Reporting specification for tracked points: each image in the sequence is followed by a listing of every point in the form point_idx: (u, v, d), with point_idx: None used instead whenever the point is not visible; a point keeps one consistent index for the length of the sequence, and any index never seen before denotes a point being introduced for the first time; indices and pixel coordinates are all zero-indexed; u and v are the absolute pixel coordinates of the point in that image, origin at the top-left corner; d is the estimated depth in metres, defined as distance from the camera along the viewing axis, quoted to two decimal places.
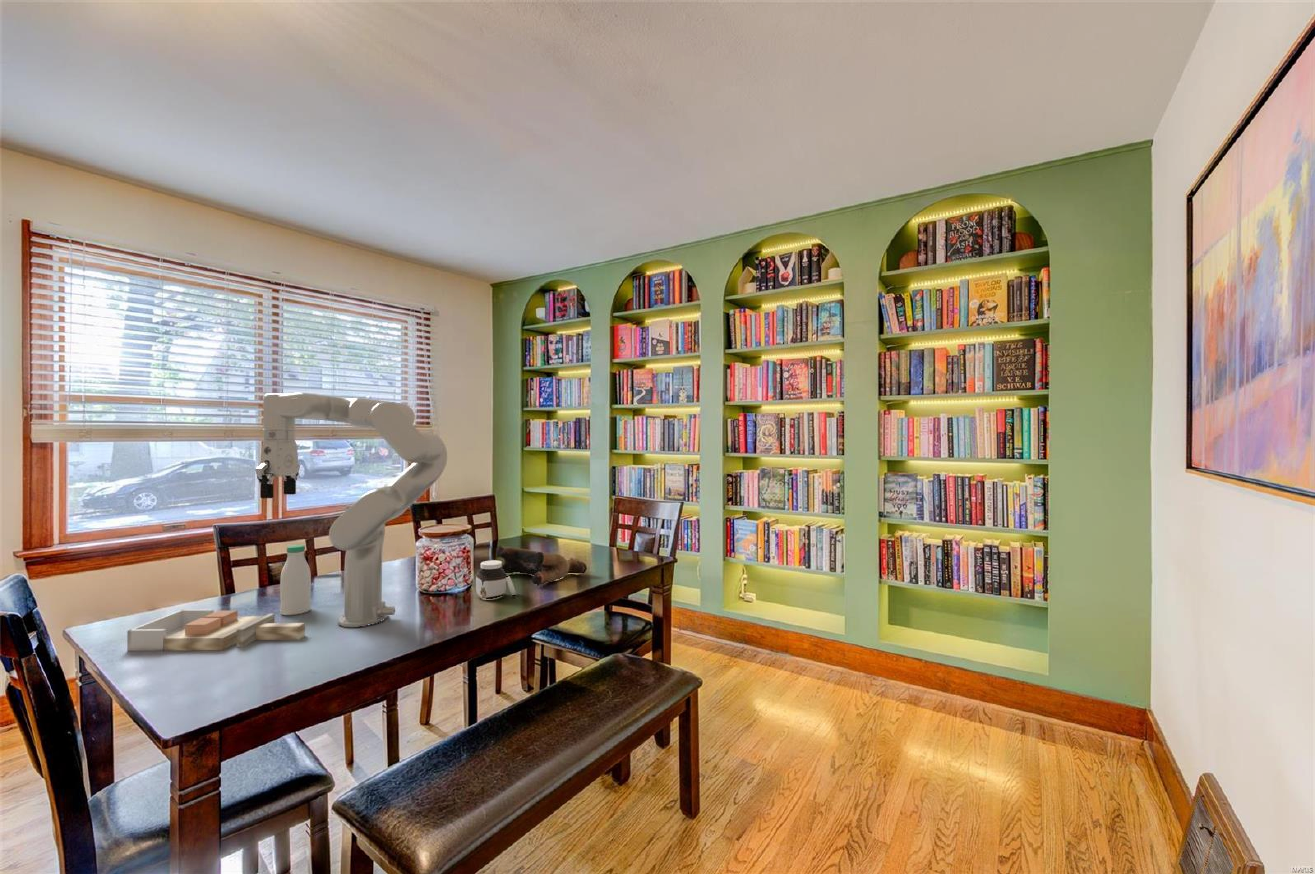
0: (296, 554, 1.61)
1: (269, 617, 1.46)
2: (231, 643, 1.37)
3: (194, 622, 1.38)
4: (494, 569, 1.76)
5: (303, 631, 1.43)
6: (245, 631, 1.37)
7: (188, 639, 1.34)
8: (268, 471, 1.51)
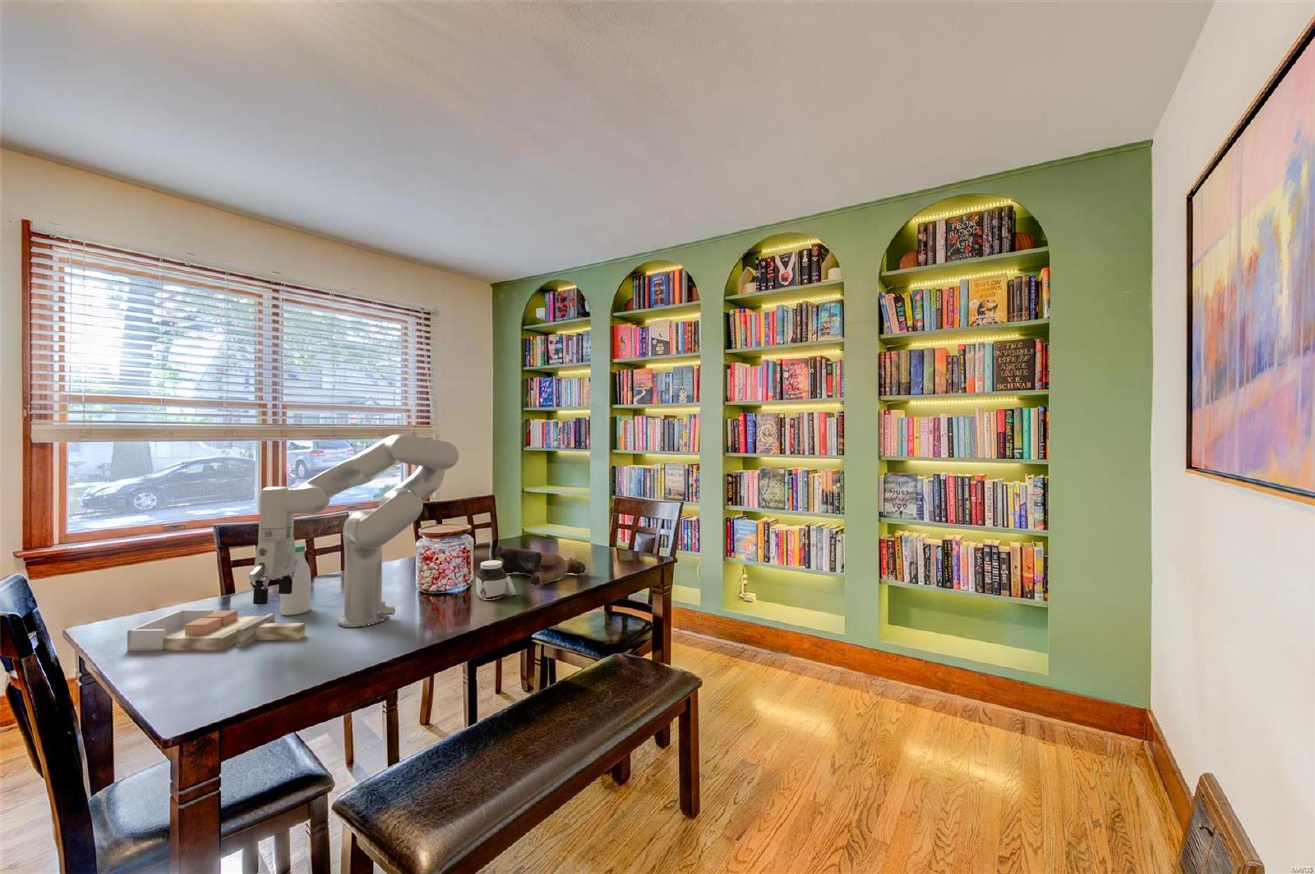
0: (296, 554, 1.61)
1: (269, 617, 1.46)
2: (231, 643, 1.37)
3: (194, 622, 1.38)
4: (494, 569, 1.76)
5: (303, 631, 1.43)
6: (245, 631, 1.37)
7: (188, 639, 1.34)
8: (263, 573, 1.39)
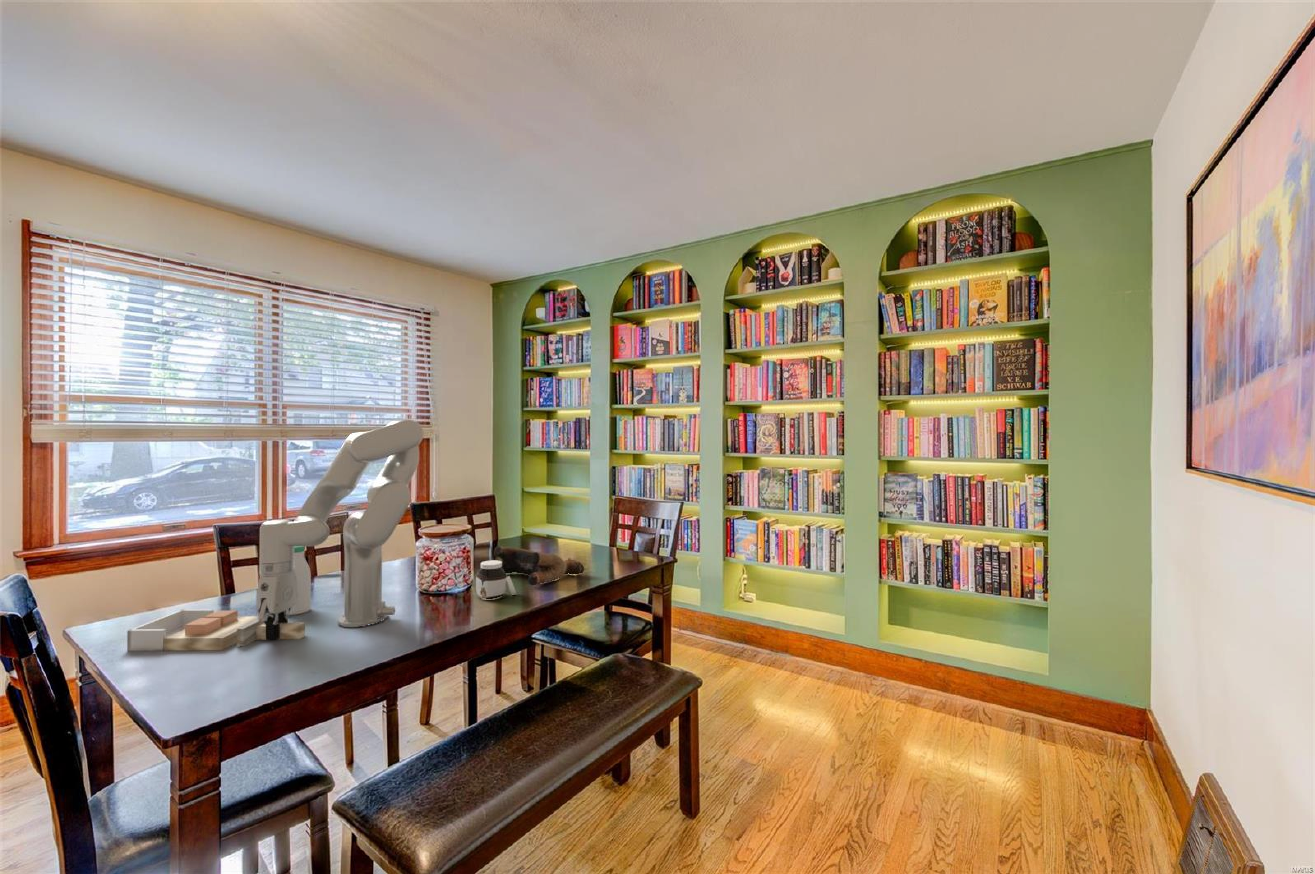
0: (296, 554, 1.61)
1: None
2: (231, 643, 1.37)
3: (194, 622, 1.38)
4: (494, 569, 1.76)
5: (303, 631, 1.43)
6: (245, 631, 1.37)
7: (188, 639, 1.34)
8: None
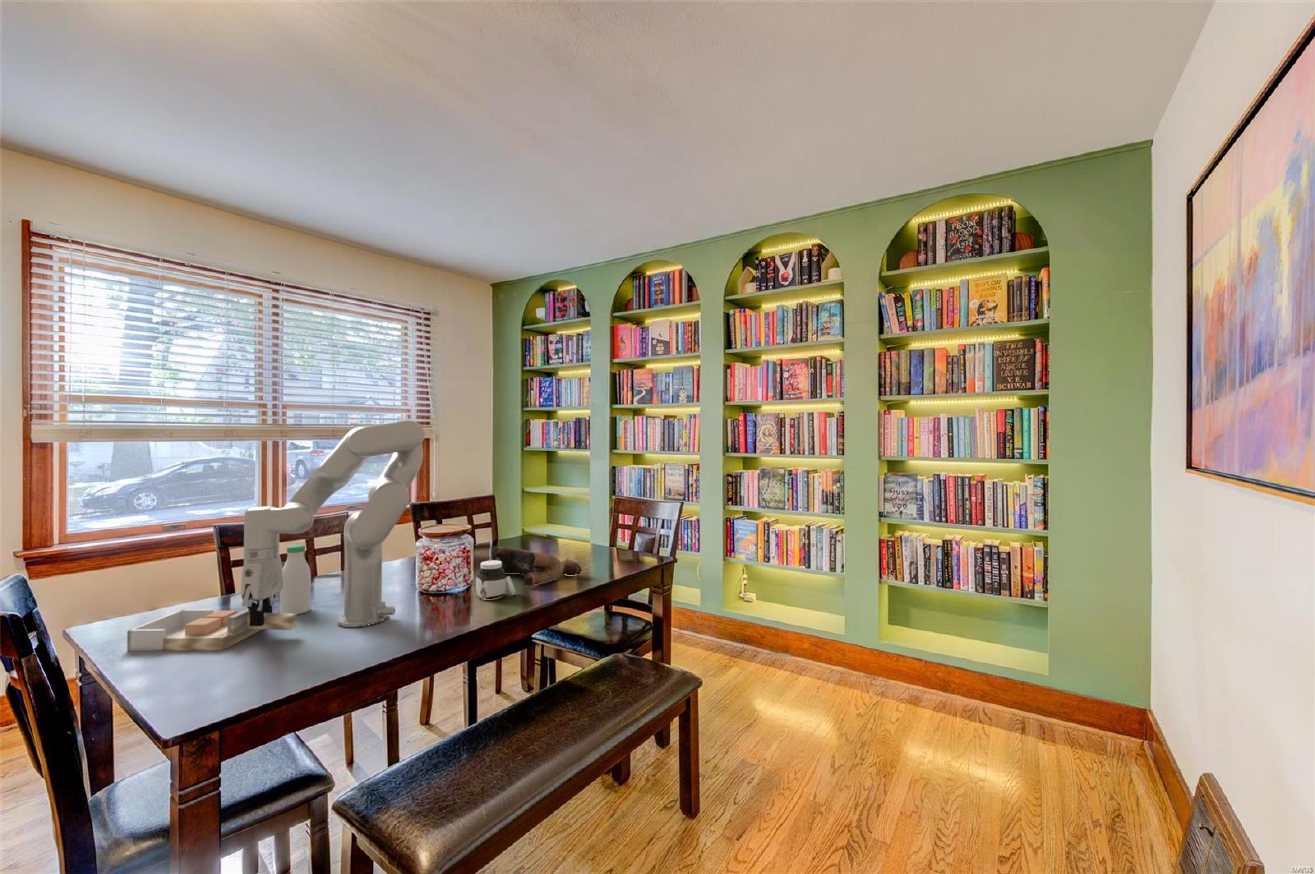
0: (296, 554, 1.61)
1: None
2: (231, 643, 1.37)
3: (194, 622, 1.38)
4: (494, 569, 1.76)
5: (294, 622, 1.43)
6: (236, 620, 1.37)
7: (188, 639, 1.34)
8: None
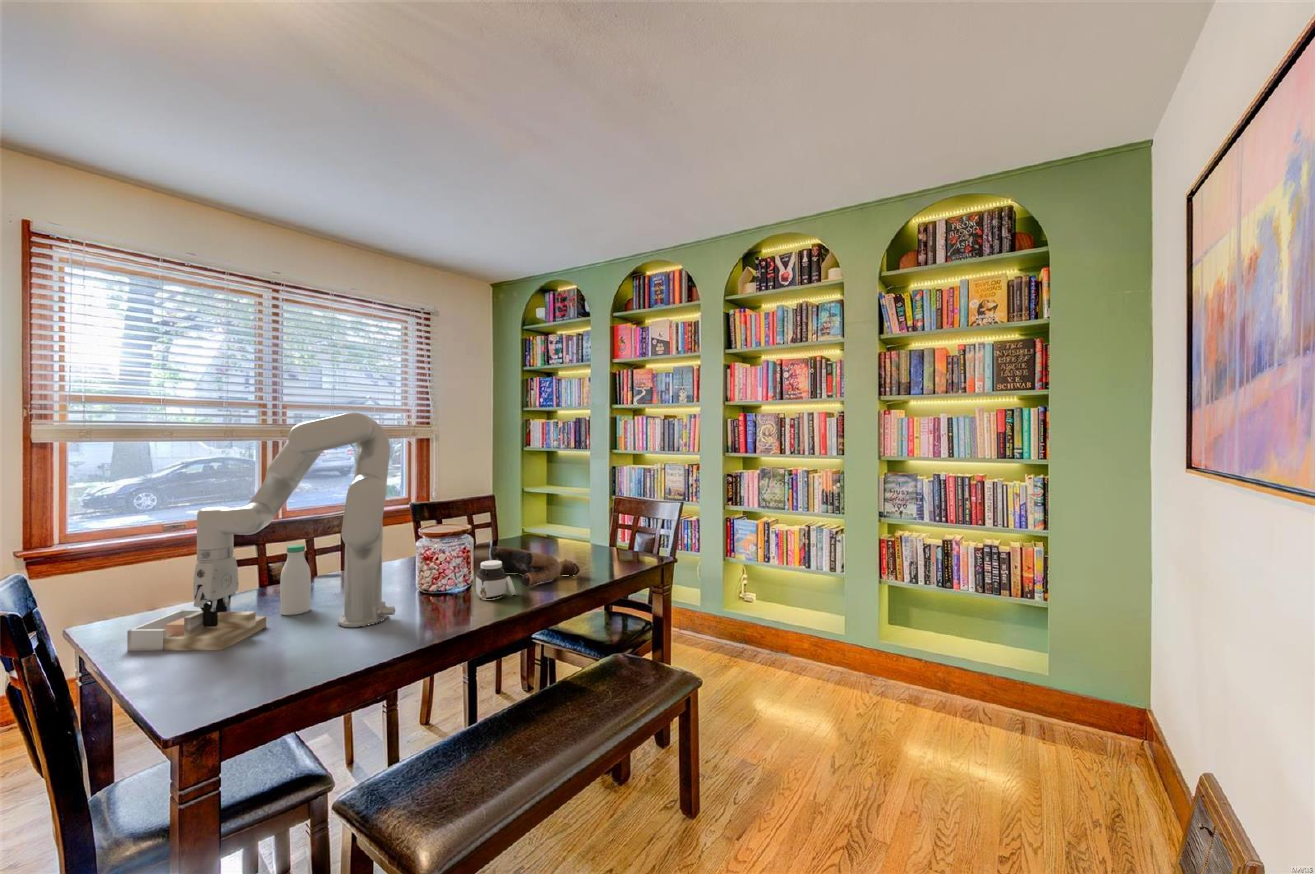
0: (296, 554, 1.61)
1: None
2: (231, 643, 1.37)
3: (175, 622, 1.38)
4: (494, 569, 1.76)
5: (253, 620, 1.43)
6: (193, 619, 1.36)
7: (188, 639, 1.34)
8: None
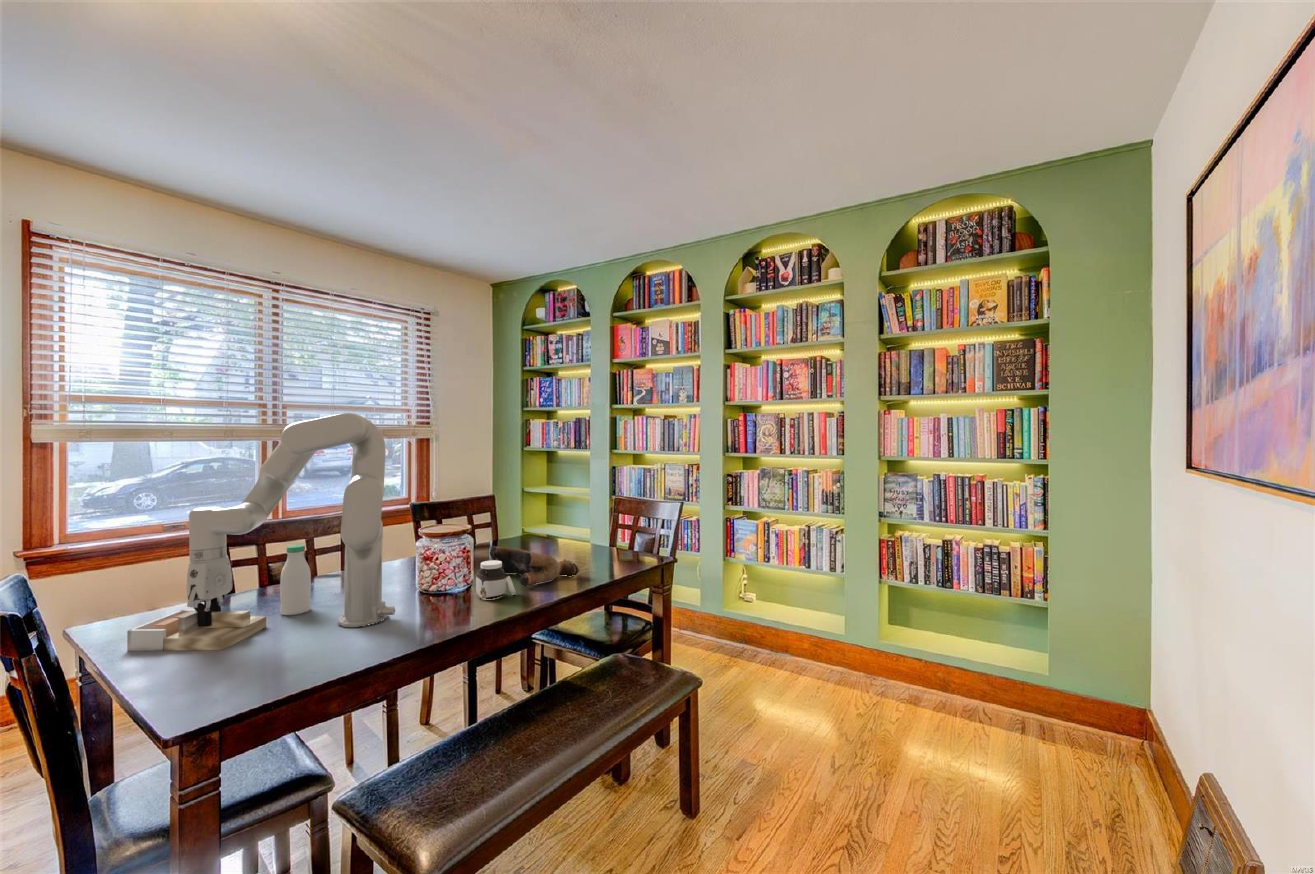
0: (296, 554, 1.61)
1: None
2: (231, 643, 1.37)
3: None
4: (494, 569, 1.76)
5: (248, 619, 1.43)
6: (187, 619, 1.36)
7: (188, 639, 1.34)
8: None
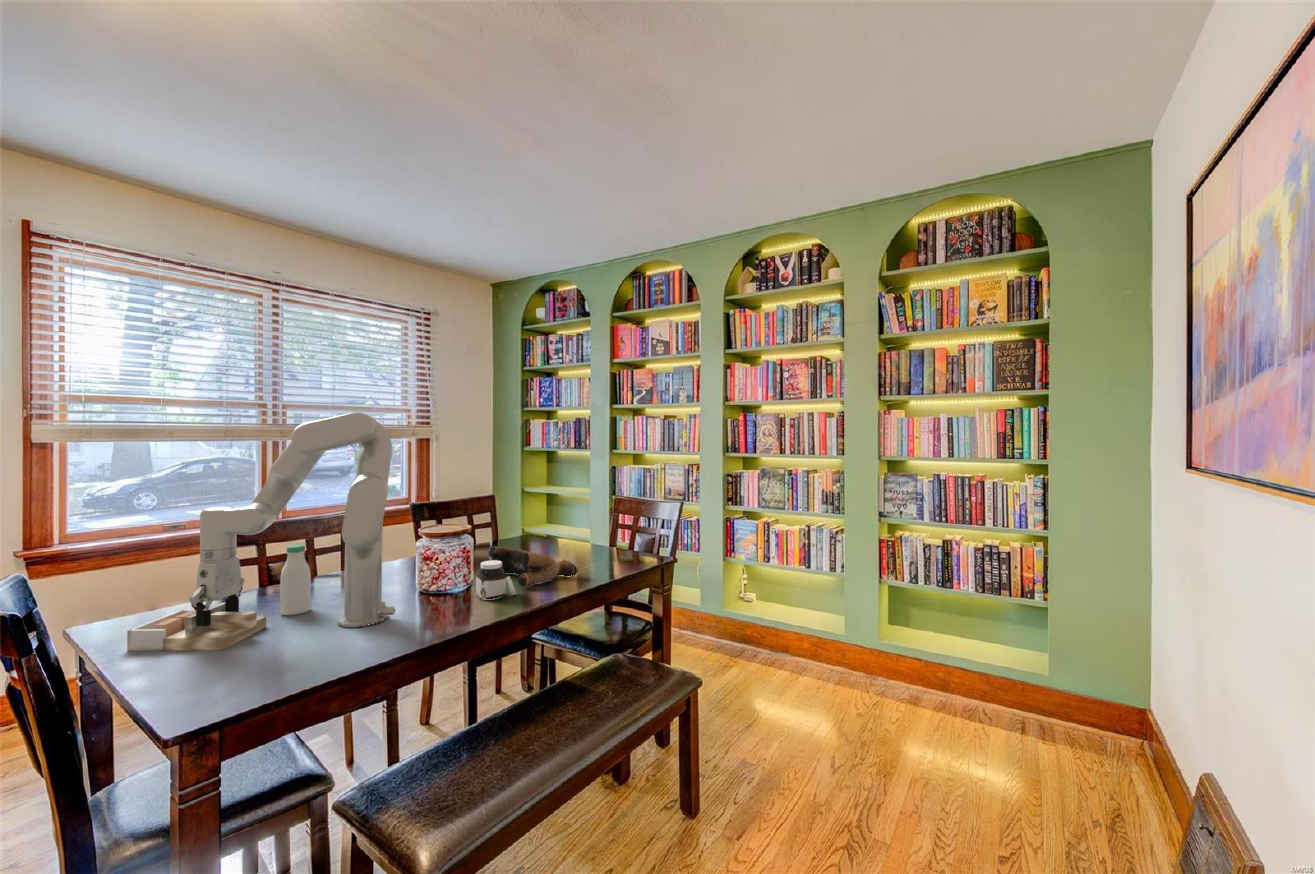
0: (296, 554, 1.61)
1: (221, 606, 1.46)
2: (231, 643, 1.37)
3: None
4: (494, 569, 1.76)
5: (254, 620, 1.43)
6: (194, 619, 1.36)
7: (188, 639, 1.34)
8: (205, 595, 1.38)
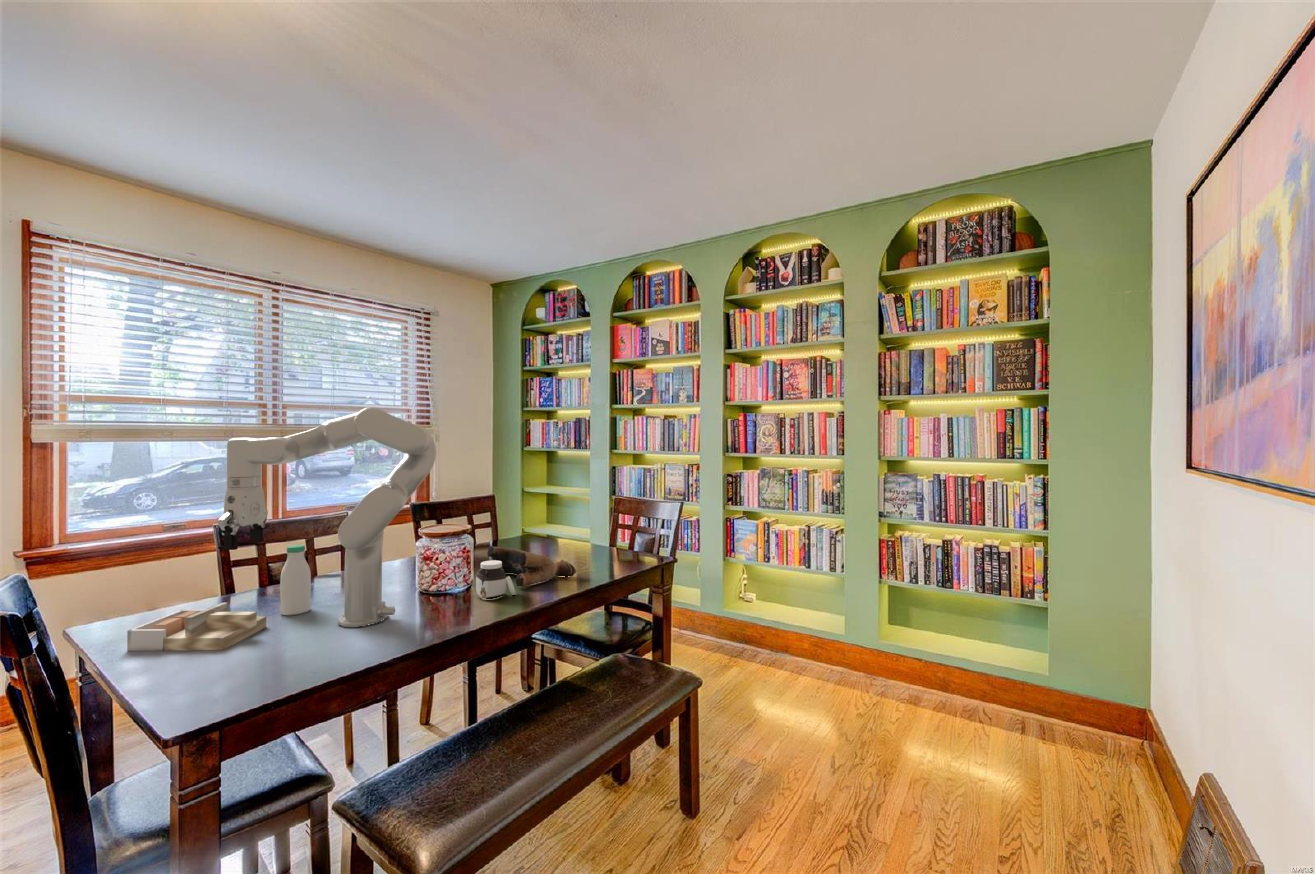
0: (296, 554, 1.61)
1: (221, 606, 1.46)
2: (231, 643, 1.37)
3: None
4: (494, 569, 1.76)
5: (254, 620, 1.43)
6: (194, 619, 1.36)
7: (188, 639, 1.34)
8: (232, 521, 1.43)
